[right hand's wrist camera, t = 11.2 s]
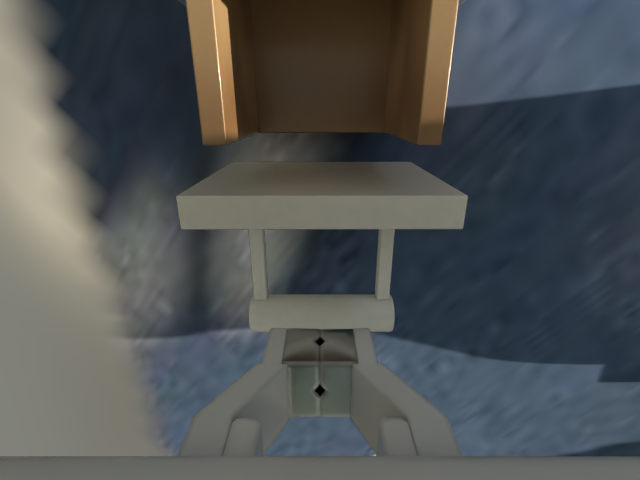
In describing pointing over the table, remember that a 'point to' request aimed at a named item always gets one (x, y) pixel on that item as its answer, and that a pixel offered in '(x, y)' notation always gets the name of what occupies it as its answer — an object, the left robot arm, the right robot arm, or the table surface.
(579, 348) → the table surface
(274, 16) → the drawer
